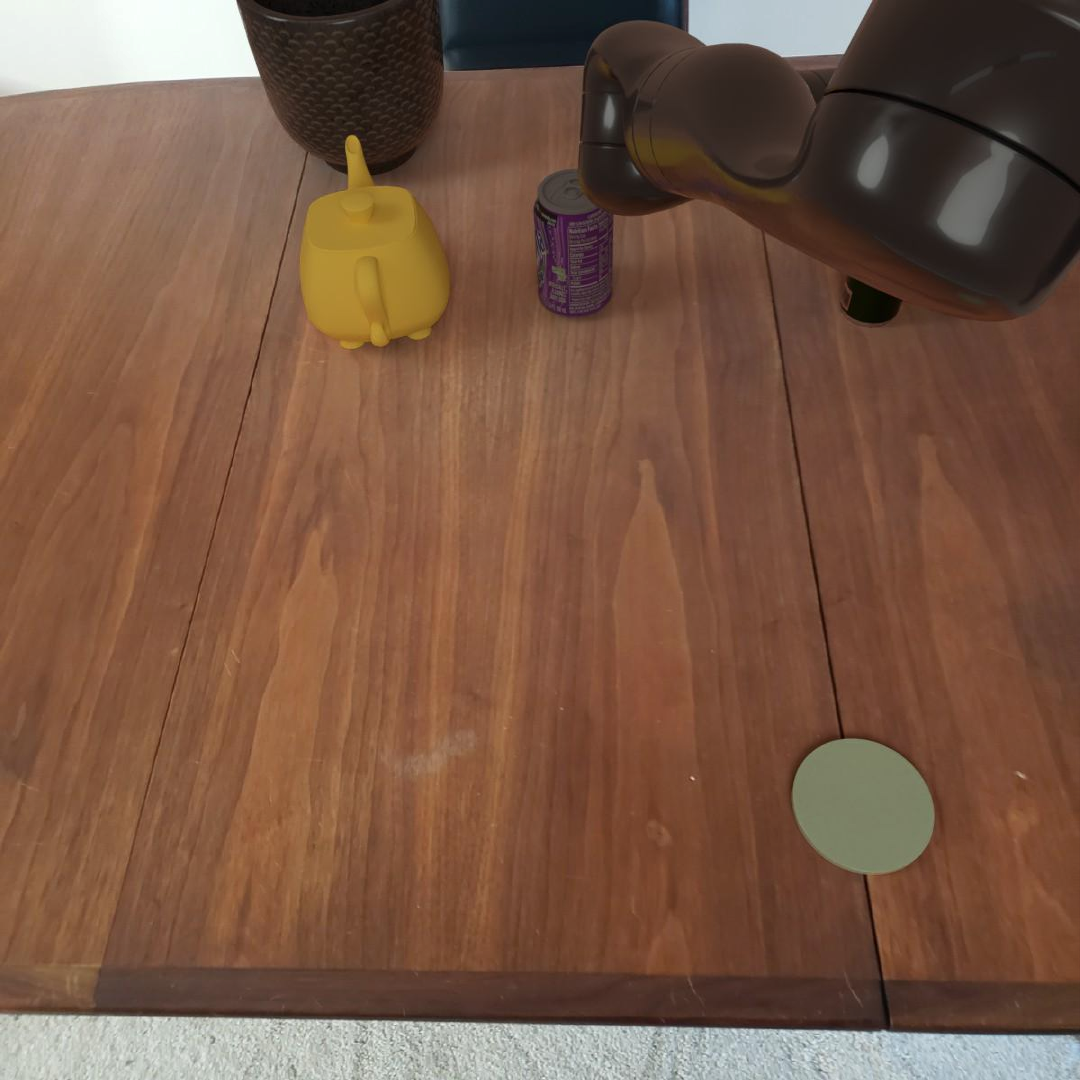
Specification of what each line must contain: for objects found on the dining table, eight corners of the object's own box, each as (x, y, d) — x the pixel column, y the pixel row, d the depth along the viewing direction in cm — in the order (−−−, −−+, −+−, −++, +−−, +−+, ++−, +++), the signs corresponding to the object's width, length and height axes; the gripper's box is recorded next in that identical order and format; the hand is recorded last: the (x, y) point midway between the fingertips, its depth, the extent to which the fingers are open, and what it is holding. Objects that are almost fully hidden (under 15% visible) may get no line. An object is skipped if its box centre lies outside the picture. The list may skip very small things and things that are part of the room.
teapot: (314, 386, 88) (277, 273, 78) (310, 249, 100) (277, 135, 90) (463, 364, 89) (446, 250, 79) (442, 231, 101) (424, 116, 90)
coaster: (946, 773, 65) (948, 770, 64) (913, 899, 60) (916, 896, 60) (813, 721, 67) (815, 718, 67) (772, 838, 63) (774, 835, 62)
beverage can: (554, 267, 97) (549, 159, 87) (621, 282, 95) (624, 173, 85) (527, 313, 93) (519, 205, 83) (597, 330, 91) (597, 221, 81)
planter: (423, 212, 103) (393, 31, 87) (254, 190, 106) (196, 12, 91) (478, 110, 114) (460, -67, 98) (323, 93, 117) (282, -80, 102)
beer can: (852, 334, 89) (884, 224, 79) (829, 297, 92) (856, 186, 82) (907, 323, 90) (945, 212, 80) (882, 286, 93) (915, 175, 83)
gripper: (941, 147, 58) (1113, 155, 65) (823, 18, 65) (990, 37, 72) (873, 248, 64) (1038, 245, 71) (771, 119, 71) (931, 128, 78)
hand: (1013, 140), depth 72 cm, fingers open, 8 cm apart
